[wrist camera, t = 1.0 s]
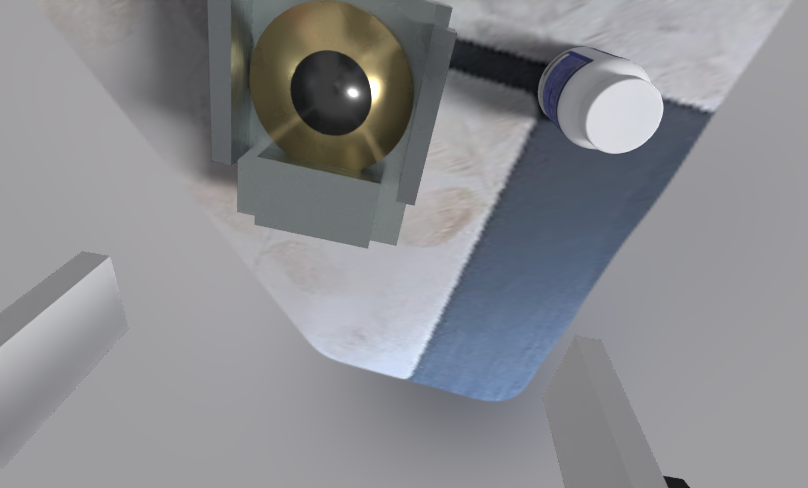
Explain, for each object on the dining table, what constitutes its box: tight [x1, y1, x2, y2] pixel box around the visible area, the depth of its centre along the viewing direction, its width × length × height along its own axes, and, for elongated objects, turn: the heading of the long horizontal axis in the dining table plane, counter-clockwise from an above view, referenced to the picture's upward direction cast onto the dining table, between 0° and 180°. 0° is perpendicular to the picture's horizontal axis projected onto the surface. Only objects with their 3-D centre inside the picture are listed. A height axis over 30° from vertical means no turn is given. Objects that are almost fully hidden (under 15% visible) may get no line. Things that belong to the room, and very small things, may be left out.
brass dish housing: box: [207, 0, 457, 248], centre depth 28 cm, size 16×13×8 cm
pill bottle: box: [538, 47, 663, 153], centre depth 26 cm, size 5×5×9 cm
